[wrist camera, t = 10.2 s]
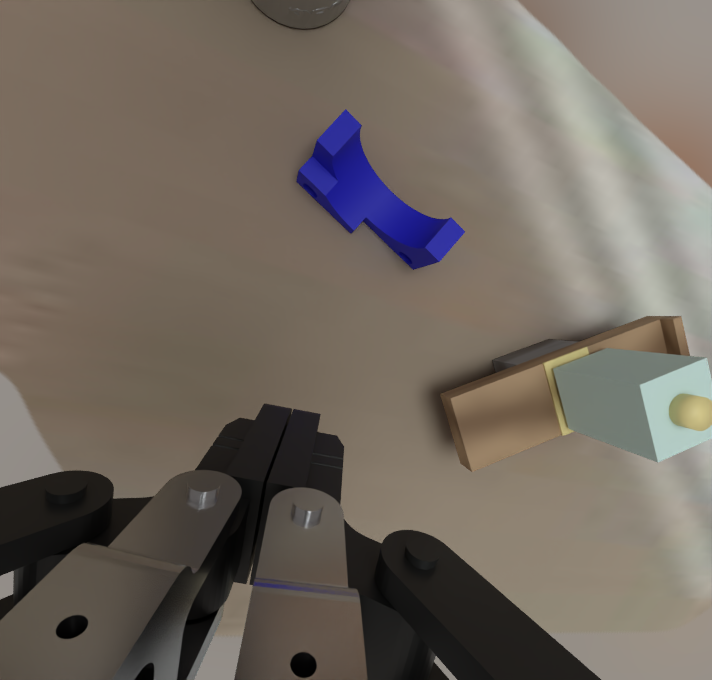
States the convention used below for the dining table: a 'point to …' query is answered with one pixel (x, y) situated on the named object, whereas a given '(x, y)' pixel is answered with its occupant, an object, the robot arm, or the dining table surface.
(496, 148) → the dining table surface
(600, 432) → the block
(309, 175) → the cable clip
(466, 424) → the beam
